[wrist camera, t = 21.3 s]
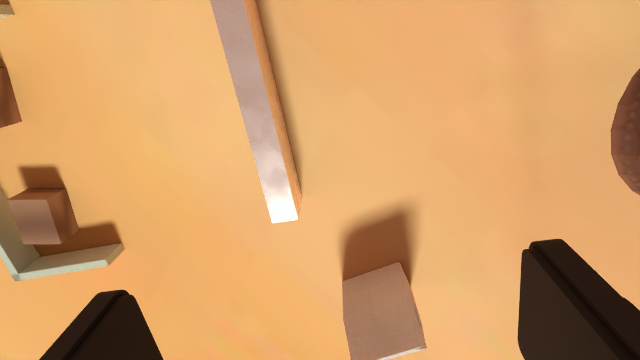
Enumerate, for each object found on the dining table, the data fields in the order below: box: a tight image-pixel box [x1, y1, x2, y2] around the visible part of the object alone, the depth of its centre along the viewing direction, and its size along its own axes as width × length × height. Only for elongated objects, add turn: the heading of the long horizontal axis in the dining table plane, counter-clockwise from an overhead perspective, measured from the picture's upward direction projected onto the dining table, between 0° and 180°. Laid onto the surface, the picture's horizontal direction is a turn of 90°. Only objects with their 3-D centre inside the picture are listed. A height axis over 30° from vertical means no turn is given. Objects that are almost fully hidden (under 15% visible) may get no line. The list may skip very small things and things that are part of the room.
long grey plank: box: [210, 0, 302, 223], centre depth 32 cm, size 20×2×5 cm, turn 11°
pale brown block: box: [342, 262, 426, 360], centre depth 37 cm, size 4×7×10 cm, turn 114°
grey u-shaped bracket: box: [0, 4, 124, 281], centre depth 36 cm, size 25×11×4 cm, turn 12°
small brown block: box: [7, 188, 79, 244], centre depth 38 cm, size 5×4×3 cm
